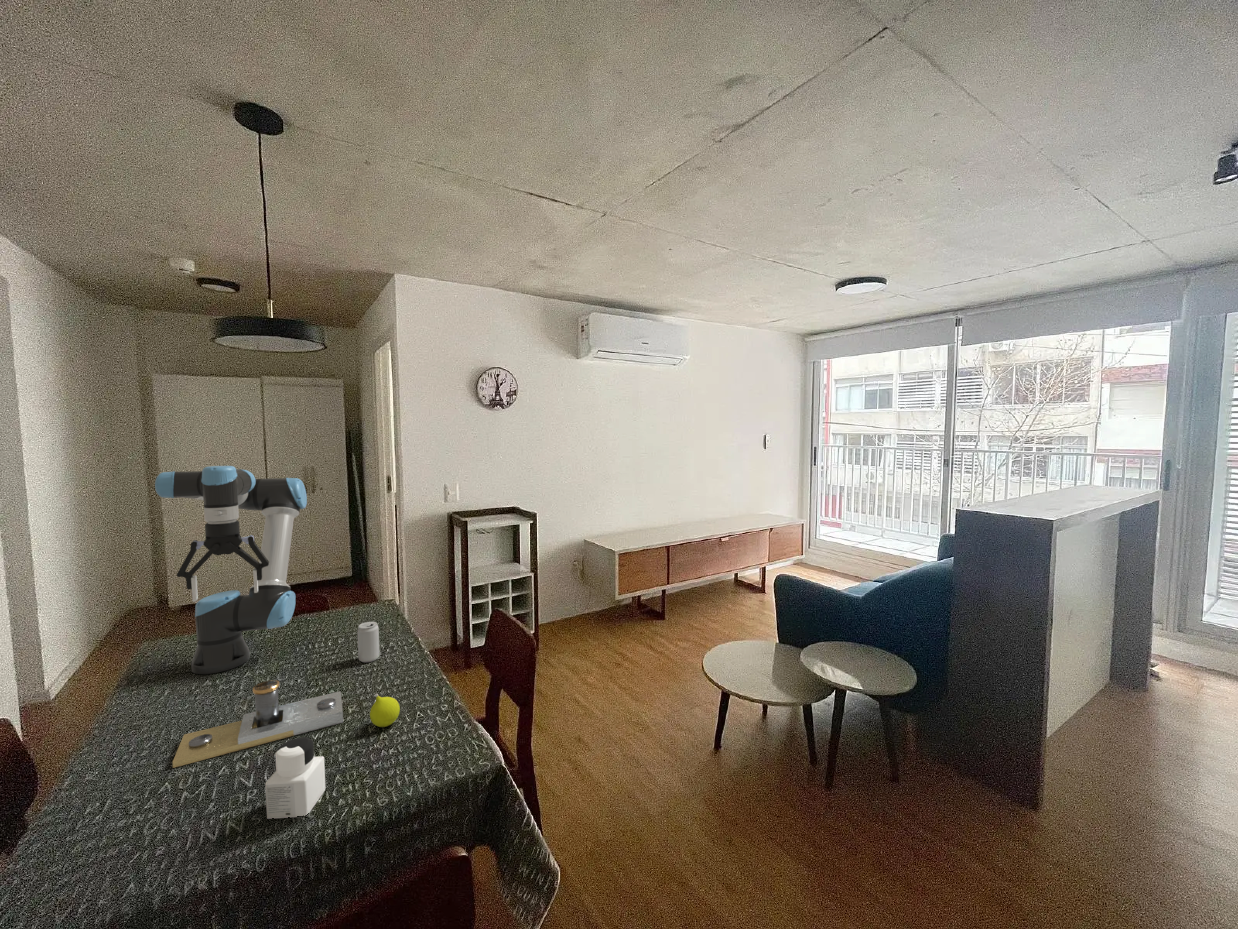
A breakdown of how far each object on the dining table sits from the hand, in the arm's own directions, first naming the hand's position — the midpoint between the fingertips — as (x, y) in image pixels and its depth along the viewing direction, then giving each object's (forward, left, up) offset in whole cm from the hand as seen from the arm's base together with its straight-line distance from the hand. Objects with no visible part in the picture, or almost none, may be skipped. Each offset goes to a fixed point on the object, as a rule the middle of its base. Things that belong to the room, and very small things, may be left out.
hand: (226, 595), depth 141 cm
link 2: (+23, +15, -31) cm, 41 cm away
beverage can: (-8, +36, -31) cm, 48 cm away
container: (+57, +17, -31) cm, 67 cm away
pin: (+23, +10, -31) cm, 40 cm away
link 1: (+23, +4, -31) cm, 38 cm away
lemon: (+36, +36, -31) cm, 59 cm away
